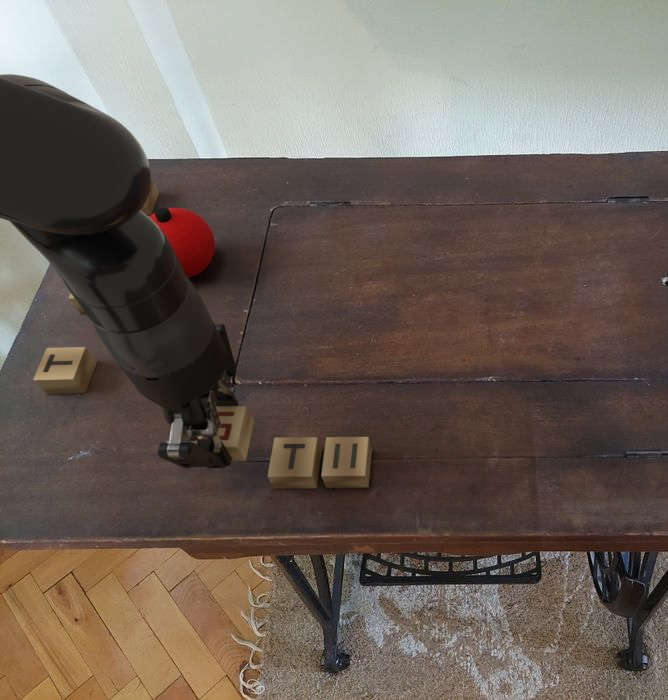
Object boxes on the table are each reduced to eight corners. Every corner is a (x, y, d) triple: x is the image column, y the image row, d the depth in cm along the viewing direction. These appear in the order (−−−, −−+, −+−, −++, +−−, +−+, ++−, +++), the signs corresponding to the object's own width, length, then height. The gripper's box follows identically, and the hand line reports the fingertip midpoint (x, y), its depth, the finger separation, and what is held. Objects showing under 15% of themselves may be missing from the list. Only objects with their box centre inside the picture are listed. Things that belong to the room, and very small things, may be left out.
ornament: (154, 299, 84) (120, 243, 76) (154, 250, 89) (123, 193, 81) (225, 285, 85) (200, 229, 77) (222, 238, 90) (198, 180, 82)
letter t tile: (85, 393, 75) (72, 378, 73) (46, 394, 75) (32, 379, 73) (97, 361, 78) (85, 346, 75) (59, 362, 78) (46, 347, 75)
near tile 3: (326, 488, 68) (320, 475, 66) (330, 449, 71) (325, 436, 69) (368, 487, 68) (365, 475, 66) (372, 449, 71) (368, 435, 69)
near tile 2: (274, 488, 68) (267, 476, 66) (281, 450, 71) (274, 437, 69) (317, 488, 68) (311, 476, 66) (322, 449, 71) (317, 436, 69)
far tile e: (151, 214, 93) (143, 198, 90) (120, 215, 93) (110, 198, 90) (159, 193, 95) (151, 177, 93) (128, 194, 95) (119, 177, 93)
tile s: (199, 461, 63) (188, 446, 60) (209, 421, 65) (199, 405, 63) (245, 461, 63) (237, 446, 60) (254, 421, 65) (246, 405, 63)
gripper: (139, 266, 54) (205, 379, 68) (81, 413, 46) (169, 509, 60) (229, 265, 54) (276, 379, 68) (187, 413, 46) (251, 508, 60)
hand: (226, 439), depth 64 cm, fingers closed on tile s, 4 cm apart
